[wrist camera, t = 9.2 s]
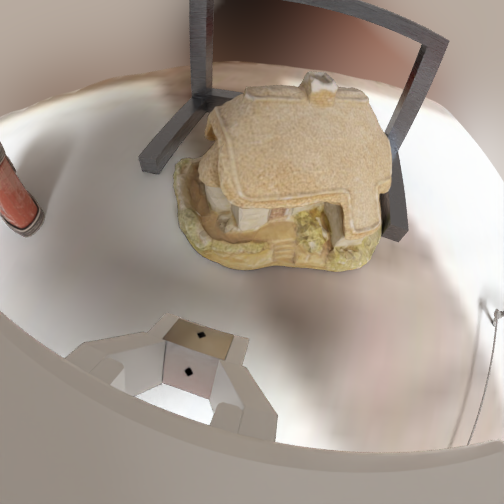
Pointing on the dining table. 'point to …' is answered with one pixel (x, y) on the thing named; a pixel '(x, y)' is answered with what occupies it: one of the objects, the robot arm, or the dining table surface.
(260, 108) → the ceramic model
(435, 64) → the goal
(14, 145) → the dining table surface
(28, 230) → the lighter
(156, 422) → the robot arm
